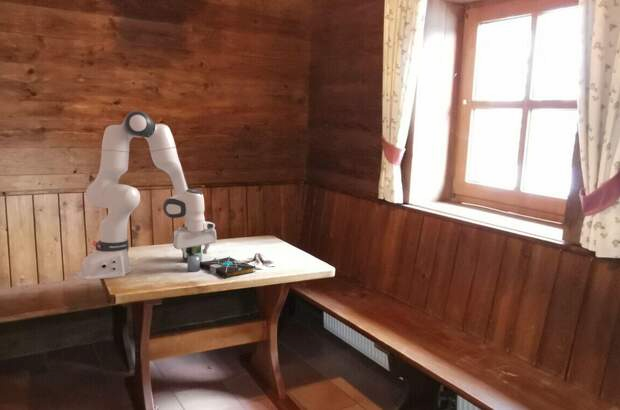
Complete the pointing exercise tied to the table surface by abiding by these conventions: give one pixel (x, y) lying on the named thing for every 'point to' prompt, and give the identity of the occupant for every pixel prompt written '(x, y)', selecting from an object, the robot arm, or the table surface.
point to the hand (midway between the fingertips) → (195, 255)
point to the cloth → (260, 261)
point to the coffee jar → (193, 251)
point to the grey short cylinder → (193, 263)
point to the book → (227, 267)
